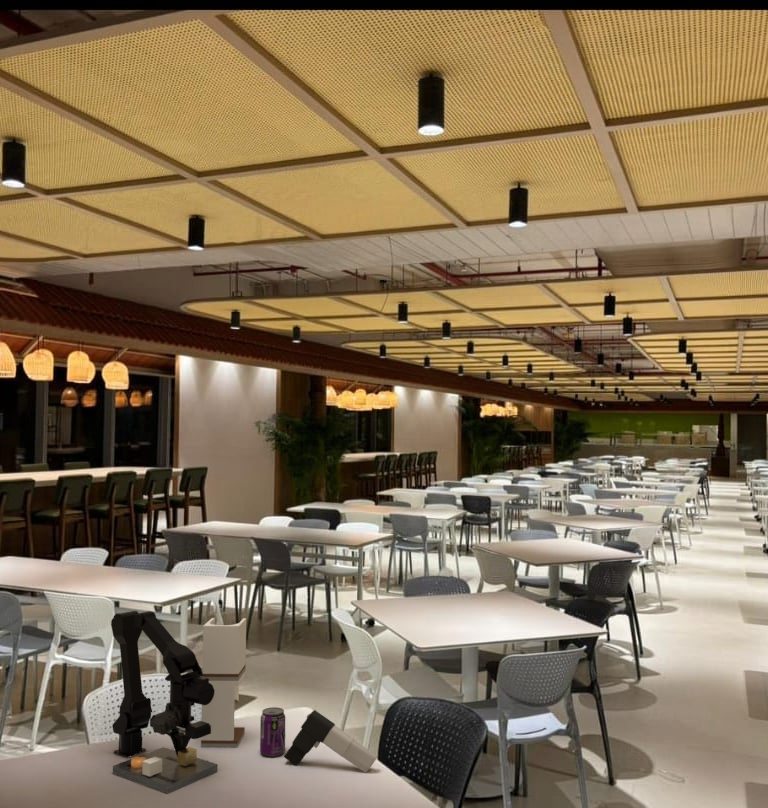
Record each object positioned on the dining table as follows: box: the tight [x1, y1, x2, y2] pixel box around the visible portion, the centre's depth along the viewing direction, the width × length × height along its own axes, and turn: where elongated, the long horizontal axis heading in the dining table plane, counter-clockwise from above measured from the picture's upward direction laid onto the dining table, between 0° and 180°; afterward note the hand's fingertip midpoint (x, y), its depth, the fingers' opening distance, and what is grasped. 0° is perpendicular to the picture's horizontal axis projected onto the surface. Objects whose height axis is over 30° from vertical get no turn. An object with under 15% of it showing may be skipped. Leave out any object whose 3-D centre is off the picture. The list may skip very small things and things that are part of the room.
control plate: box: [112, 746, 218, 794], centre depth 213 cm, size 22×17×2 cm
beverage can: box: [259, 706, 286, 757], centre depth 227 cm, size 7×7×12 cm
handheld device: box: [283, 709, 378, 774], centre depth 217 cm, size 4×22×15 cm, turn 76°
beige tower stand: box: [200, 617, 247, 749], centre depth 238 cm, size 11×11×35 cm
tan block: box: [178, 746, 198, 766], centre depth 214 cm, size 3×4×3 cm
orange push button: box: [131, 756, 147, 770], centre depth 213 cm, size 4×4×3 cm
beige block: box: [142, 757, 162, 777], centre depth 207 cm, size 3×4×3 cm
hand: (179, 757), depth 216 cm, fingers closed
